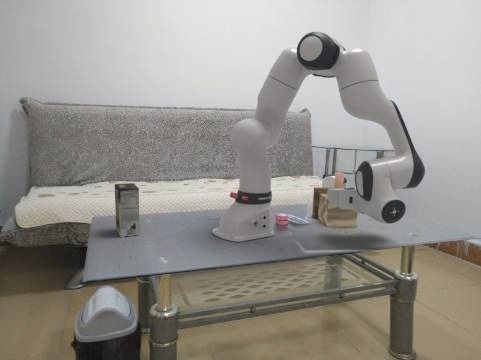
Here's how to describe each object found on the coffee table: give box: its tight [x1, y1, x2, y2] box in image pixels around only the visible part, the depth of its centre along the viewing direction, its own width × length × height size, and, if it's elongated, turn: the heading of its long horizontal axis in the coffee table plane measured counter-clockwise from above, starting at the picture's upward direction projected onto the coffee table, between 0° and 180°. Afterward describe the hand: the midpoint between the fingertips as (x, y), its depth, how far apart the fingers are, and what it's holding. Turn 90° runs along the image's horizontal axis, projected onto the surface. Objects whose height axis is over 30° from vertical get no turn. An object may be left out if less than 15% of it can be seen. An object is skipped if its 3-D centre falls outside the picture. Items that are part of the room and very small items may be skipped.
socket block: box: [317, 193, 359, 228], centre depth 137 cm, size 11×11×10 cm
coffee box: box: [114, 183, 140, 238], centre depth 121 cm, size 9×6×16 cm
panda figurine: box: [321, 173, 348, 188], centre depth 163 cm, size 12×11×15 cm
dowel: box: [334, 171, 345, 188], centre depth 136 cm, size 3×3×14 cm
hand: (349, 190), depth 127 cm, fingers open, 8 cm apart
